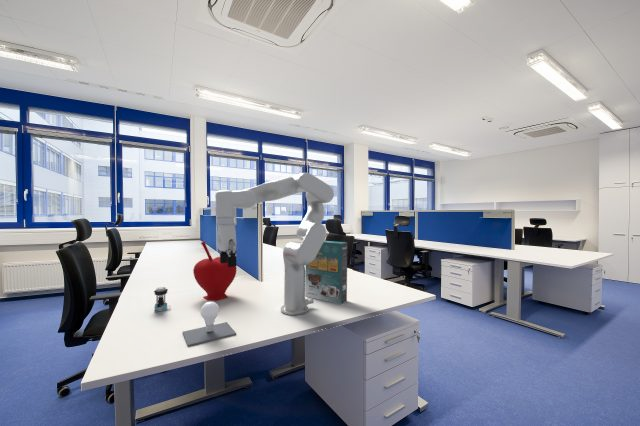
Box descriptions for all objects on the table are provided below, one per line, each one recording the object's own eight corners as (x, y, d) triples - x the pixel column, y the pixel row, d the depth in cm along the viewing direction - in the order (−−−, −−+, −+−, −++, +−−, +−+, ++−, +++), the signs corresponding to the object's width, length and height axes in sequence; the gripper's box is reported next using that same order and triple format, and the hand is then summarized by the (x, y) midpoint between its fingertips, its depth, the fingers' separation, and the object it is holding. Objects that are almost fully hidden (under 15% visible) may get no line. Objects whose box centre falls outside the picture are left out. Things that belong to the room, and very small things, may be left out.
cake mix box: (346, 301, 137) (347, 242, 138) (341, 304, 132) (341, 243, 132) (311, 293, 149) (312, 239, 149) (305, 296, 144) (305, 240, 144)
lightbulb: (207, 337, 94) (207, 305, 94) (196, 332, 98) (197, 302, 98) (222, 330, 100) (222, 301, 100) (211, 326, 103) (212, 298, 103)
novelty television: (226, 290, 153) (226, 238, 153) (240, 294, 146) (241, 239, 146) (190, 299, 136) (191, 240, 136) (204, 305, 129) (205, 242, 129)
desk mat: (226, 323, 108) (226, 321, 108) (236, 334, 98) (236, 333, 98) (182, 333, 99) (182, 331, 99) (187, 346, 89) (187, 344, 89)
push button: (171, 307, 126) (171, 285, 126) (170, 311, 121) (170, 288, 121) (154, 309, 123) (155, 287, 123) (152, 313, 118) (153, 290, 118)
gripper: (210, 221, 111) (212, 262, 111) (223, 223, 97) (225, 270, 97) (229, 220, 115) (230, 260, 115) (243, 221, 101) (245, 266, 102)
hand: (228, 264), depth 106 cm, fingers open, 9 cm apart
